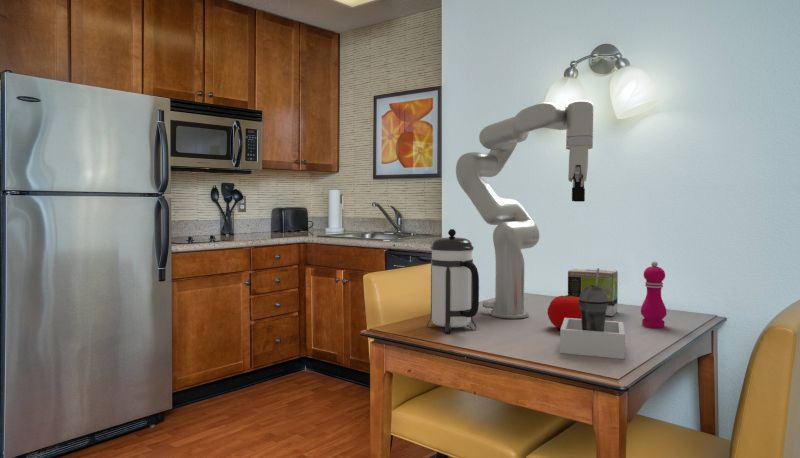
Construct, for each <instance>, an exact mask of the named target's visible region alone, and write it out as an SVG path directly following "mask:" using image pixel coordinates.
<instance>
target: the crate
mask: <svg viewBox="0 0 800 458" xmlns="http://www.w3.org/2000/svg"><path fill="white" fill-rule="evenodd" d="M559 329H560V328H559ZM559 343H560V344H559V354H564V355H565V354H566V355H576V356H577V355H578V356H587V357H599V358H608V359H620V360H625V356H626V353H625V352H626V351H625V350H626V348H625V347H626V332H625V326H624V321H614V320H613V321H612V320H605V324H604V332H600V331H587V330H582V321H581V319H575V318H564V321H563V324H562V326H561V329H560V336H559Z"/></svg>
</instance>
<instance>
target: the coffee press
mask: <svg viewBox="0 0 800 458" xmlns="http://www.w3.org/2000/svg"><path fill="white" fill-rule="evenodd" d="M456 233H457V232H456V230H455V229H454V228H453V229H452V228H450V229H449V230H448V235H449V236H448V237H438V238H436V239H435V240H434V241H433V242H432V244H431V246H430V250H431V258H430V319H429V321H428V322H427V323H426V326H427V327H428V328H432V327H433V326H435V325H436V326H437V327H438V326H439V327H443V328H444V334H451V329H452V328H463V327H468V328H469V329H470V330H472V331H476V329H477V325H476V323H475V322H474V317H476V315H478V314H477V313H478V310H479V304H480V303H479V302H480V279H479V271H478V267H477V266H476V265H475V264H474V258H473V251H474V246H473V244H472V242H471V241H470V240H469V239H468V238H464V237H456ZM430 322H432V323H433V324H432V325H429V323H430ZM471 323H472V324H473V326H474V327H475V328H473V327H472V326H471V325H470V324H471Z"/></svg>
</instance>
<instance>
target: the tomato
mask: <svg viewBox="0 0 800 458" xmlns="http://www.w3.org/2000/svg"><path fill="white" fill-rule="evenodd" d="M547 316H548V320H549V321H550V322H551V324H552V325H553V326H554V327H556V328H558V329H561V326H562V324H563V321H564V318H575V319H581V309H580V305H579V297H577V296H576V297H574V296H570V295H569V294H568V293H567V294H565V295H558V296H555V297H554V298H553V299H552V300H551V301H550V302H549V306H548V307H547Z"/></svg>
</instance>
